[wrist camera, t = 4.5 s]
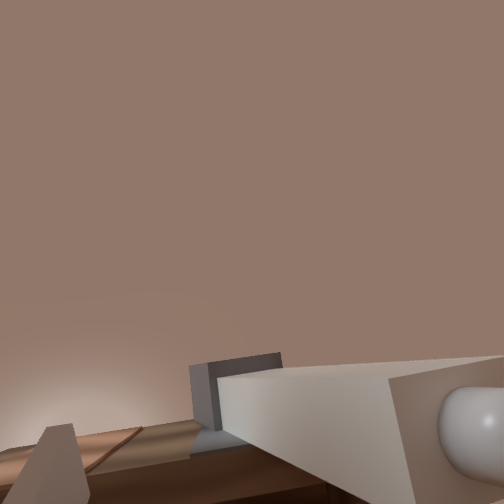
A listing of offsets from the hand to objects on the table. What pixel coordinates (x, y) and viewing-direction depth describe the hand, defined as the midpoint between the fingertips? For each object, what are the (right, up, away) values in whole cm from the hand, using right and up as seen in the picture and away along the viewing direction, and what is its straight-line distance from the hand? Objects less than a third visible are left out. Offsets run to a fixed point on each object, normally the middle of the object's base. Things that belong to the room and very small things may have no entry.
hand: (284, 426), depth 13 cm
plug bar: (+1, -4, +7) cm, 8 cm away
